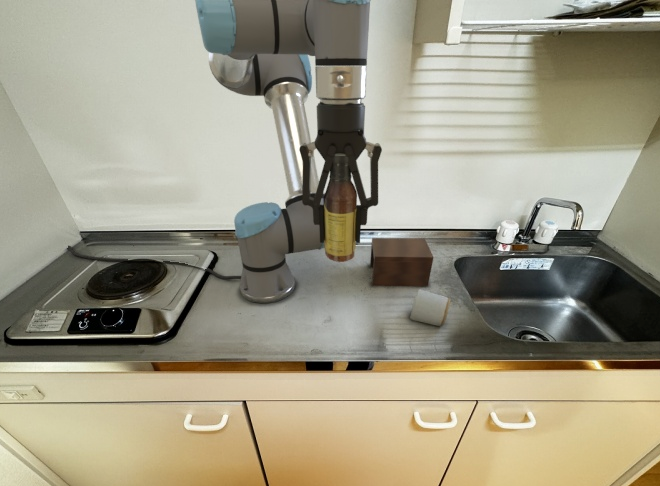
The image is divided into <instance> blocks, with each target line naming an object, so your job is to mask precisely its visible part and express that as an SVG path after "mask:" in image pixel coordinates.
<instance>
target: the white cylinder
mask: <svg viewBox="0 0 660 486" xmlns="http://www.w3.org/2000/svg"><path fill="white" fill-rule="evenodd" d="M450 305H451V299H450V298H448V297H447V296H443V295H440V294H438V293H434V292H430V291H427V290H423V289H417V292H416V294H415V297H414V300H413V304H412V308H411V311H410V317H409V318H410V320H412V321H417V322H421V323H424V324H429V325H433V326H437V327H441V326H443V325H445V323H446V320H447V316H448V313H449V309H450Z"/></svg>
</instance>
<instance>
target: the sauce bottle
mask: <svg viewBox="0 0 660 486" xmlns="http://www.w3.org/2000/svg"><path fill="white" fill-rule="evenodd" d="M328 178H329V180H328V183H327V186H326V190H325V191H324V193H325V196H324V199H323V205H324V241H325V248H324V251H325V253H324V254H325V256H326V257H327V259H329V260H331V261H333V262H338V263H344V262H348V261H351V260H352V259H353V258H354V257H355V253H356V247H357V246H356V245H357V243H356V224H357V205H358V204H357V203H358V194H357V190H356V187H355V184H354V182H352V178H353V177H352V173H351V170H350V167H349V163H348V157H346V154H345V153H339V154H336V153H335V156H334V157H333V162H332V166H331V169H330V172H329V175H328Z"/></svg>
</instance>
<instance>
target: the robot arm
mask: <svg viewBox="0 0 660 486" xmlns="http://www.w3.org/2000/svg"><path fill="white" fill-rule="evenodd" d="M194 1H195V8H196V14H197V19H198V24H199V29H200V34H201V39H202V44H203V47H204V49H205V51H206V52H208V65H209V68H210V71H211V74H212V75H213V77H214V79H215V80H216V81H217V82H218V83H219V84H220V85H221V86H222V87H224V88H225V89H227V90H229V91H231V92H233V93H236V94H238V95H242V96H249V97H263V99H264V103H265V105H266V106H267V107H268V108H269V109H271V110H272V115H273V119H274V124H275V125H274V126H275V130H276V135H277V140H278V145H279V150H280V155H281V160H282V165H283V171H284V176H285V181H286V187H287V192H288V197H287V198H286V200H285V202H284V205H285V208H281V207H280V205H279V204H278V203H276V202H267V201H265V202H264V201H263V202H258V203H253V204H250V205H248V206H245V207H244V208H242V209H241V210H239V211H238V212H237V213H236V215H235V216H234V220H233V222H234V230H235V231H234V234H235V235H234V236H235V237H236V238H237V244H238V250H239V256H240V261H241V264H242V272H241V275H221V274H220V273H217V272H216V271H214V270H212V269H211V268H208V267H206V268H207V269H205V270H204V271H205V272H208V273H210V274H212V275H213V276H214V277H216V278H218V279H220V280H221V279H222V280H240V283H239V284H240V285H239V290H240V294H241V295H242V297H243V298H244V299H246V300H247V301H249V302H253V303H257V304H271V303H276V302H279V301H282V300H284V299H286V298H287V297H289V296H290V295H292V293H293V292H294V291H295V288H296V281H295V278H294V275H293V272H292V271H291V269H290V267H289V265H288V262H287V259H286V258H287V257H286V255H289V254H295V253H303V252H309V251H315V250H318V251H320V250H322V249H325V241H324V205H323V199H324V196H325V188H326V184H327V182H328V178H329V176H330V169H331V166H332V162H333V157H334V156H335V153H336V154H339V153H345V154H346V157H348V163H349V167H350V170H351V176H352V177H351V178H352V180H353V184H354V186H355V189H356V192H357V198H358V201H359V204H357V224H356V244H361V231H362V226H366V225H367V223H368V210H369V208H371V207H376V206H378V205H379V161H380V158H381V154H382V151H383V148H382V146H381V144H380V143H379V142H377V143H373V142H370V141H367V139H366V136H365V121H366V120H365V119H366V117H365V116H366V105H365V104H364V102H362V100H364V99H365V98H366V95H367V76H368V75H367V74H368V73H367V71H368V66H367V65H368V49H369V29H370V13H371V10H370V9H371V0H194ZM309 56H310V57H314V59H315V60H314V66H315V67H314V69H315V72H314V73H315V97H316V99H318V100H319V102H318V103H317V105H316V129H317V130H316V137H315V138H314V141H312V138H311V133H310V127H309V122H308V118H307V112H306V111H307V110H306V106H305V104H306V102H307V100H308V99H309V94H310V93H311V91H312V88H313V87H312V86H313V75H312V67H311V61H310V58H309ZM315 150H317V152H318V154H320V156H321V158H322V159H323V160H324V163H323V167H322V170H321V173H320V177H319V173H318V168H317V164H316V159H315ZM365 150H366V152H367V157H368V158H369V177H370V178H369V179H370V180H369V181H370V182H369V183H370V184H369V185H370V197H367V194H366V191H365V188H364V185H363V184H364V183H363V180H362V177H361V174H360V170H359V165H358V162H357V160H358V159H359V158H360V156H361V155H362V154H363V152H364V151H365ZM67 246H68V248H67V247H66V250H68V251H70V253H71V254H72V256H76V257H78V258H81V259H87V260H94V261H102V262H120V263H121V262H122V263H123V261H128V259H129V258H113V257H99V256H91V255H85V254H80V253H77V252H76V251H75V250H74V249H73V247H72V246H71V245H67ZM163 262H165V263H164V264H173V265H182V266H186V265H188V264H185V263H179V262H170V261H163Z"/></svg>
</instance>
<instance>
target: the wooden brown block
mask: <svg viewBox="0 0 660 486" xmlns="http://www.w3.org/2000/svg"><path fill="white" fill-rule="evenodd" d="M434 258H435V257H434V255H433V253H432V250H431V248H430V246H429V244H428V242H427V240H426V238H419V237H418V238H416V237H415V238H413V237H411V238H410V237H409V238H408V237H371V245H370V260H369V261H370V262H369V267H370V268H372V280H371V285H372V286H377V287H429V284H430V283H429V282H430V278H431V272H432V267H433V263H434Z"/></svg>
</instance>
